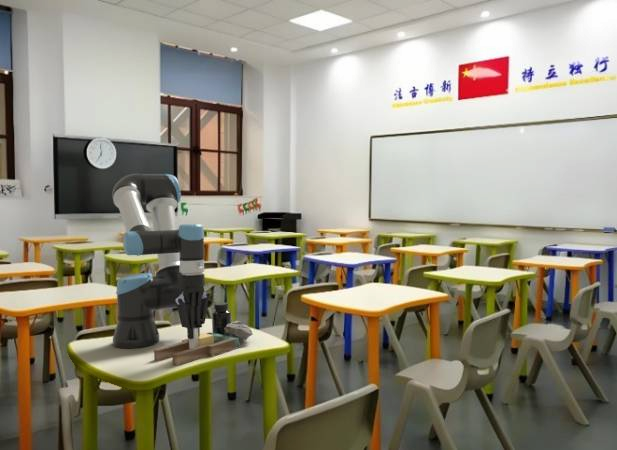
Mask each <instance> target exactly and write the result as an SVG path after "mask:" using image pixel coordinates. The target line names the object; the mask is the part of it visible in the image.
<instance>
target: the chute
mask: <svg viewBox="0 0 617 450" xmlns="http://www.w3.org/2000/svg"><path fill="white" fill-rule="evenodd" d="M205 333H206V334H210V335H214V344H211V345H208V346H206V345H202V346H198V347H195V348H192V349H190V348H189V339H188V338H184V339H181V342H178V343H174V344H170V345H167V346H163V347H159V348H156V349H154V350H153V354H154V355H153V356H154V361H157V362H160V361H163V360H166V359H170V358H172V365H173V366H176V367H178V366H181V365H183V364H186V363H190V362H193V361H196V360H199V359H201V358H205V357H207V356H209V357H214V356H217V355H221V354H224V353H226V352H230V351H232V350H235V349H238V348H240V342H239V338H236V337H231V336H225V335H220V334H215V333H213V332H205Z"/></svg>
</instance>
